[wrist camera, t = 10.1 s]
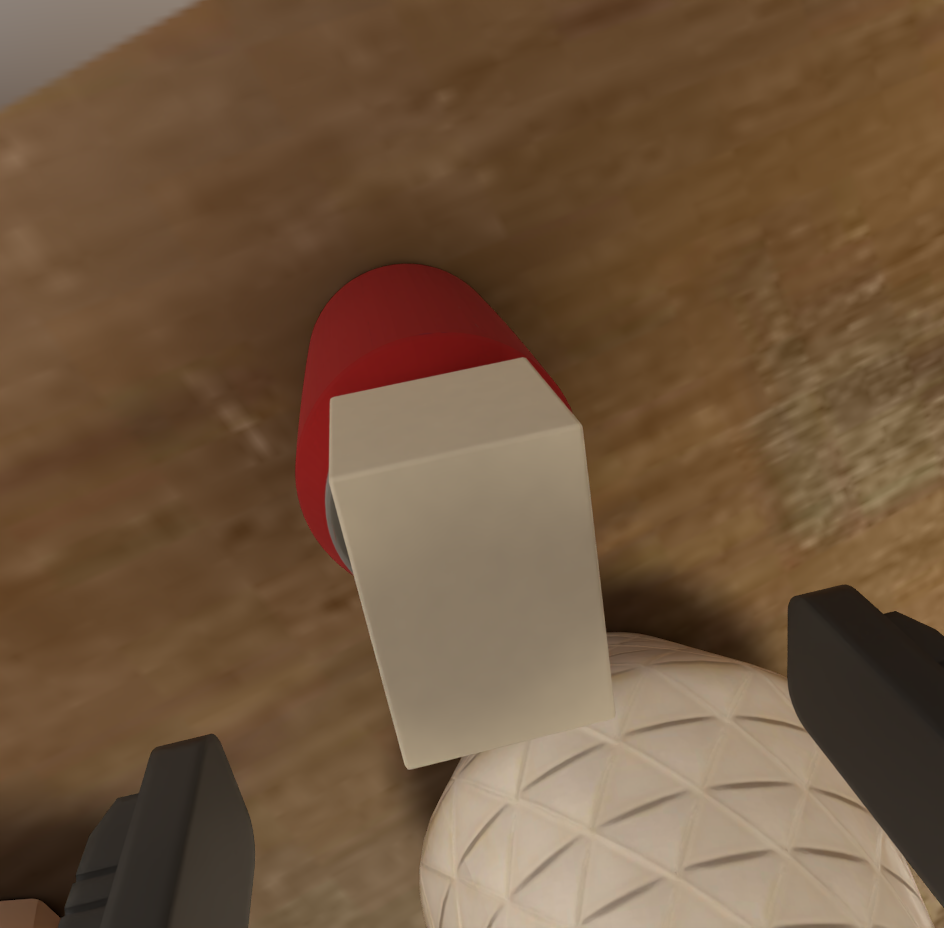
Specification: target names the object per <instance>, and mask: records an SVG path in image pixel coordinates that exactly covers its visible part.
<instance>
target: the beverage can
mask: <svg viewBox="0 0 944 928" xmlns="http://www.w3.org/2000/svg"><path fill="white" fill-rule="evenodd" d="M522 357H524V358H526V359H527V360H528V361H529V362H530V363H531V365H532V366H533V367H534V368H535V369H536V371H537V372H538V373H539V374H540V375H541V377H542V378H543V379H544V380H545V381H546V383H547V384H548V385H549V386H550V387H551V389H552V390H553V391H554V392H555V393H556V395H557V396H558V397H559V398H560V399H561V401H562V402H563V403H564V404H565V405H566V407H567V408H568V409H569V410H570V411H571V412H572V410H571V408H570V406H569V404H568V402H567V400H566V398H565V396H564V395H563V393H562V392H561V390H560V388H559V387H558V386H557V384H556V383H555V382H554V381H553V379H552V378H551V377H550V376H549V374H548V373H547V372H546V371H545V370H544V368H543V367H542V366H541V365H540V363H539V362H538V361H537V360H536V358H535V357H534V356H533V355H532V354H531V352H530V351H529V350H528V349H527V347H526V346H525V345H524V344H523V343H522V342H521V341H520V339H519V338H518V337H517V336H516V335H515V334H514V332H513V331H512V330H511V329H510V328H509V327H508V326H507V324H506V323H505V322H504V321H503V320H502V319H501V318H500V317H499V316H498V314H497V313H496V312H495V311H494V310H493V309H492V308H491V307H490V306H489V305H488V304H487V303H486V302H485V301H484V300H483V298H482V297H481V296H480V295H479V294H478V293H477V292H476V291H475V290H474V289H473V288H471V287H470V286H469V285H468V284H467V283H465V282H464V281H462V280H461V279H459V278H458V277H456V276H454V275H452V274H450V273H448V272H446V271H443V270H441V269H438V268H434V267H431V266H426V265H420V264H394V265H389V266H384V267H380V268H376V269H374V270H371V271H368V272H366V273H364V274H362V275H360V276H358V277H356V278H355V279H353V280H351V281H350V282H349V283H347V284H346V285H345V286H343V287H342V288H341V289H340V290H339V291H338V292H337V293H336V294H335V295H334V296H333V297H332V298H331V299H330V301H329V302H328V303H327V304H326V306H325V307H324V309H323V310H322V312H321V314H320V316H319V317H318V319H317V322H316V324H315V326H314V329H313V332H312V335H311V340H310V345H309V351H308V357H307V362H306V370H305V377H304V384H303V392H302V400H301V409H300V418H299V428H298V439H297V451H296V465H295V478H296V488H297V494H298V499H299V503H300V507H301V510H302V512H303V515H304V518H305V520H306V522H307V524H308V526H309V528H310V530H311V532H312V533H313V535H314V537H315V538H316V540H317V541H318V542H319V544H320V545H321V546H322V548H323V549H324V550H325V551H326V552H327V553H328V554H329V555H330V557H331V558H332V559H333V560H335V561H336V562H337V563H338V564H339V565H340V566H341V567H342V568H344V569H345V570H346V571H348V572H349V573H350V574H352V575H354V574H353V570H352V567H351V563H350V559H349V556H348V552H347V548H346V544H345V541H344V537H343V533H342V530H341V526H340V522H339V518H338V515H337V511H336V507H335V503H334V500H333V496H332V492H331V489H330V485H329V426H330V399H331V398H333V397H336V396H341V395H346V394H350V393H355V392H360V391H365V390H369V389H374V388H379V387H384V386H388V385H393V384H398V383H403V382H408V381H412V380H417V379H422V378H427V377H431V376H436V375H441V374H446V373H450V372H455V371H460V370H465V369H469V368H474V367H479V366H484V365H489V364H493V363H498V362H503V361H508V360H512V359H517V358H522ZM572 414H573V413H572Z"/></svg>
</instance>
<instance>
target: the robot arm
mask: <svg viewBox="0 0 944 928" xmlns="http://www.w3.org/2000/svg"><path fill="white" fill-rule="evenodd" d="M787 681H788V690H789V695H790V699H791V702H792V705H793V708H794V710H795V712H796V715H797V717H798V718H799V720H800V722H801V724H802V725H803V727H804V728H805V730H806V731H807V732H808V734H809V735H810V736H811V737H812V739H813V740H814V741H815V743H816V744H817V745H818V746H819V748H820V749H821V750H822V752H823V753H824V754H825V755H826V757H827V758H828V759H829V761H830V762H831V763H832V764H833V766H834V767H835V768H836V770H837V771H838V772H839V773H840V775H841V776H842V777H843V779H844V780H845V781H846V783H847V784H848V785H849V786H850V788H851V789H852V790H853V792H854V793H855V794H856V795H857V797H858V798H859V799H860V801H861V802H862V803H863V804H864V806H865V807H866V808H867V810H868V811H869V812H870V813H871V815H872V816H873V817H874V819H875V820H876V821H877V822H878V824H879V825H880V826H881V828H882V829H883V830H884V832H885V833H886V834H887V835H888V837H889V838H890V839H891V841H892V842H893V843H894V844H895V846H896V847H897V848H898V850H899V851H900V852H901V853H902V855H903V856H904V857H905V859H906V860H907V861H908V862H909V864H910V865H911V866H912V868H913V869H914V870H915V871H916V873H917V874H918V875H919V877H920V878H921V879H922V881H923V882H924V883H925V884H926V886H927V887H928V888H929V890H930V891H931V892H932V893H933V895H934V896H935V897H936V899H937V900H938V901H939V902H940V904H941V905H942V906H943V908H944V636H943V635H942V634H940V633H939V632H938V631H937V630H936V629H933V628H931V627H929V626H927V625H925V624H923V623H920V622H918V621H916V620H914V619H912V618H910V617H907V616H905V615H903V614H901V613H899V612H897V611H894V612H890V613H886V614H883V613H882V612H880V611H879V610H878V609H877V608H876V607H875V606H874V605H873V604H871V603H870V602H869V601H868V600H867V599H866V598H865V597H864V596H863V595H861V594H860V593H859V592H858V591H857V590H856V589H854V588H853V587H851V586H849V585H839V586H835V587H831V588H827V589H823V590H819V591H814V592H810V593H806V594H802V595H798V596H794V597H792V599H791V600H790V602H789V605H788V668H787ZM254 867H255V844H254V835H253V829H252V824H251V820H250V816H249V814H248V811H247V808H246V806H245V803H244V801H243V798H242V796H241V793H240V790H239V788H238V785H237V783H236V780H235V778H234V775H233V773H232V770H231V768H230V765H229V763H228V760H227V757H226V755H225V752H224V750H223V747H222V745H221V743H220V741H219V739H218V738H217V736H216V735H214V734H209V735H205V736H201V737H196V738H192V739H188V740H184V741H180V742H176V743H171V744H167V745H163V746H159V747H156V748H155V749H154V750H153V751H152V753H151V755H150V758H149V761H148V764H147V768H146V771H145V774H144V778H143V781H142V785H141V788H140V792H139V793H138V794H133V795H129V796H125V797H121V798H117V799H116V801H115V802H114V803H113V805H112V806H111V807H110V809H109V810H108V811H107V813H106V814H105V816H104V817H103V818H102V820H101V821H100V822H99V824H98V825H97V826H96V828H95V829H94V830H93V832H92V833H91V834H90V836H89V838H88V841H87V844H86V847H85V850H84V853H83V855H82V858H81V861H80V864H79V867H78V870H77V873H76V883H73V884H72V887H71V890H70V893H69V896H68V899H67V902H66V905H65V908H64V909H65V916H64V917H61V919H60V922H59V925H58V928H248V923H249V913H250V904H251V895H252V886H253V876H254Z"/></svg>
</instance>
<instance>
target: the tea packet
mask: <svg viewBox="0 0 944 928" xmlns="http://www.w3.org/2000/svg"><path fill="white" fill-rule="evenodd" d="M329 485H330V489H331V492H332V496H333V500H334V503H335V507H336V511H337V515H338V518H339V522H340V526H341V530H342V533H343V537H344V541H345V544H346V548H347V552H348V556H349V559H350V563H351V567H352V570H353V574H354V578H355V582H356V585H357V589H358V593H359V597H360V600H361V604H362V608H363V611H364V615H365V619H366V623H367V626H368V630H369V634H370V638H371V641H372V645H373V649H374V652H375V656H376V660H377V664H378V667H379V671H380V675H381V679H382V682H383V686H384V690H385V693H386V697H387V701H388V705H389V708H390V712H391V716H392V720H393V723H394V727H395V731H396V734H397V738H398V742H399V746H400V749H401V753H402V757H403V760H404V764H405V766H406V768H407V769H410V770H411V769H415V768H419V767H423V766H427V765H431V764H435V763H439V762H443V761H447V760H451V759H455V758H459V757H463V756H467V755H471V754H475V753H479V752H483V751H487V750H491V749H495V748H499V747H503V746H507V745H511V744H515V743H519V742H523V741H527V740H531V739H535V738H539V737H543V736H547V735H551V734H555V733H559V732H563V731H567V730H571V729H575V728H579V727H583V726H587V725H591V724H595V723H599V722H603V721H607V720H611V719H613V718H615V714H616V712H615V704H614V695H613V686H612V678H611V669H610V660H609V652H608V643H607V634H606V626H605V617H604V608H603V600H602V591H601V582H600V574H599V565H598V556H597V547H596V539H595V530H594V521H593V513H592V504H591V495H590V487H589V478H588V469H587V461H586V452H585V443H584V435H583V427H582V425H581V423H580V422H579V421H578V420H577V418H576V417H575V416H574V415H573V414H572V412H571V411H570V410H569V409H568V408H567V407H566V405H565V404H564V403H563V402H562V401H561V399H560V398H559V397H558V396H557V395H556V393H555V392H554V391H553V390H552V389H551V387H550V386H549V385H548V384H547V383H546V381H545V380H544V379H543V378H542V377H541V375H540V374H539V373H538V372H537V371H536V369H535V368H534V367H533V366H532V365H531V363H530V362H529V361H528V360H527V359H526V358H524V357H522V358H517V359H512V360H508V361H503V362H498V363H493V364H489V365H484V366H479V367H474V368H469V369H465V370H460V371H455V372H450V373H446V374H441V375H436V376H431V377H427V378H422V379H417V380H412V381H408V382H403V383H398V384H393V385H388V386H384V387H379V388H374V389H369V390H365V391H360V392H355V393H350V394H346V395H341V396H336V397H333V398H331V399H330V426H329Z"/></svg>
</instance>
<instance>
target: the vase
mask: <svg viewBox="0 0 944 928" xmlns="http://www.w3.org/2000/svg"><path fill="white" fill-rule="evenodd" d="M606 634H607V643H608V652H609V660H610V669H611V678H612V686H613V695H614V704H615V712H616V714H615V718H613V719H611V720H607V721H603V722H599V723H595V724H591V725H587V726H583V727H579V728H575V729H571V730H567V731H563V732H559V733H555V734H551V735H547V736H543V737H539V738H535V739H531V740H527V741H523V742H519V743H515V744H511V745H507V746H503V747H499V748H495V749H491V750H487V751H483V752H479V753H475V754H471V755H467V756H463V757H461V759H460V761H459V763H458V765H457V767H456V769H455V771H454V773H453V775H452V776H451V778H450V780H449V782H448V784H447V786H446V788H445V790H444V792H443V794H442V796H441V798H440V800H439V802H438V804H437V806H436V808H435V810H434V812H433V814H432V816H431V819H430V822H429V825H428V828H427V832H426V835H425V838H424V843H423V849H422V856H421V862H420V869H419V885H420V898H421V904H422V909H423V914H424V919H425V923H426V926H427V928H934V925H933V923H932V921H931V918H930V916H929V914H928V911H927V909H926V907H925V904H924V902H923V899H922V897H921V895H920V892H919V890H918V888H917V885H916V883H915V881H914V878H913V876H912V874H911V871H910V869H909V867H908V864H907V862H906V860H905V857H904V856H903V855H902V853H901V852H900V851H899V850H898V848H897V847H896V846H895V844H894V843H893V842H892V841H891V839H890V838H889V837H888V835H887V834H886V833H885V832H884V830H883V829H882V828H881V826H880V825H879V824H878V822H877V821H876V820H875V819H874V817H873V816H872V815H871V813H870V812H869V811H868V810H867V808H866V807H865V806H864V804H863V803H862V802H861V801H860V799H859V798H858V797H857V795H856V794H855V793H854V792H853V790H852V789H851V788H850V786H849V785H848V784H847V783H846V781H845V780H844V779H843V777H842V776H841V775H840V773H839V772H838V771H837V770H836V768H835V767H834V766H833V764H832V763H831V762H830V761H829V759H828V758H827V757H826V755H825V754H824V753H823V752H822V750H821V749H820V748H819V746H818V745H817V744H816V743H815V741H814V740H813V739H812V737H811V736H810V735H809V734H808V732H807V731H806V730H805V728H804V727H803V725H802V724H801V722H800V720H799V718H798V717H797V715H796V712H795V710H794V708H793V705H792V702H791V699H790V695H789V690H788V681H787V678H786V677H784V676H782V675H780V674H778V673H776V672H773V671H770V670H767V669H764V668H761V667H758V666H755V665H752V664H749V663H745V662H742V661H738V660H735V659H731V658H727V657H724V656H720V655H717V654H713V653H710V652H706V651H703V650H699V649H696V648H692V647H688V646H685V645H681V644H678V643H674V642H671V641H667V640H664V639H660V638H656V637H653V636H648V635H643V634H638V633H628V632H606Z"/></svg>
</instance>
